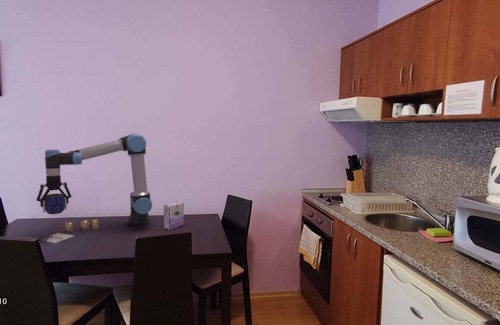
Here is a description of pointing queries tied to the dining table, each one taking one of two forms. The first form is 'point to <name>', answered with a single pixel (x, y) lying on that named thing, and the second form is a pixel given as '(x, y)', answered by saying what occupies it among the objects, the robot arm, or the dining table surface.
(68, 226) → the brass tin
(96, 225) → the brass tin
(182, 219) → the candy box
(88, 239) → the dining table surface
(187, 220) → the dining table surface
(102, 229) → the dining table surface
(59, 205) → the planter
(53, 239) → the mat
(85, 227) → the brass tin
